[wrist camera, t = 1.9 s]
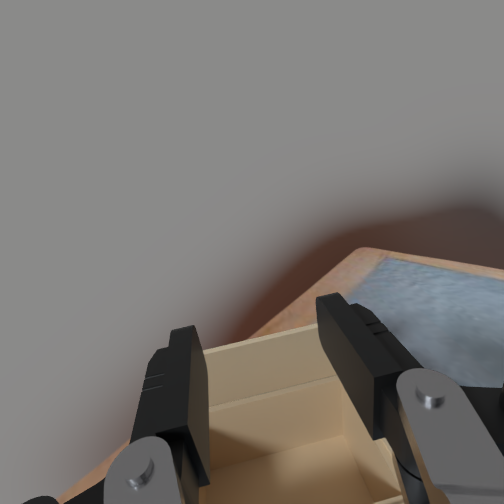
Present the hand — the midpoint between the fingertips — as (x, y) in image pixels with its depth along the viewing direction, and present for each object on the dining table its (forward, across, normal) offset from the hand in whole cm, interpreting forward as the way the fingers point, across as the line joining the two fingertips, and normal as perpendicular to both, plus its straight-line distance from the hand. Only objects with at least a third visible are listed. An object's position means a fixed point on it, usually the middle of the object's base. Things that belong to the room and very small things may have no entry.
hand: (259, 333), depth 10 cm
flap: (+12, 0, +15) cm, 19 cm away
